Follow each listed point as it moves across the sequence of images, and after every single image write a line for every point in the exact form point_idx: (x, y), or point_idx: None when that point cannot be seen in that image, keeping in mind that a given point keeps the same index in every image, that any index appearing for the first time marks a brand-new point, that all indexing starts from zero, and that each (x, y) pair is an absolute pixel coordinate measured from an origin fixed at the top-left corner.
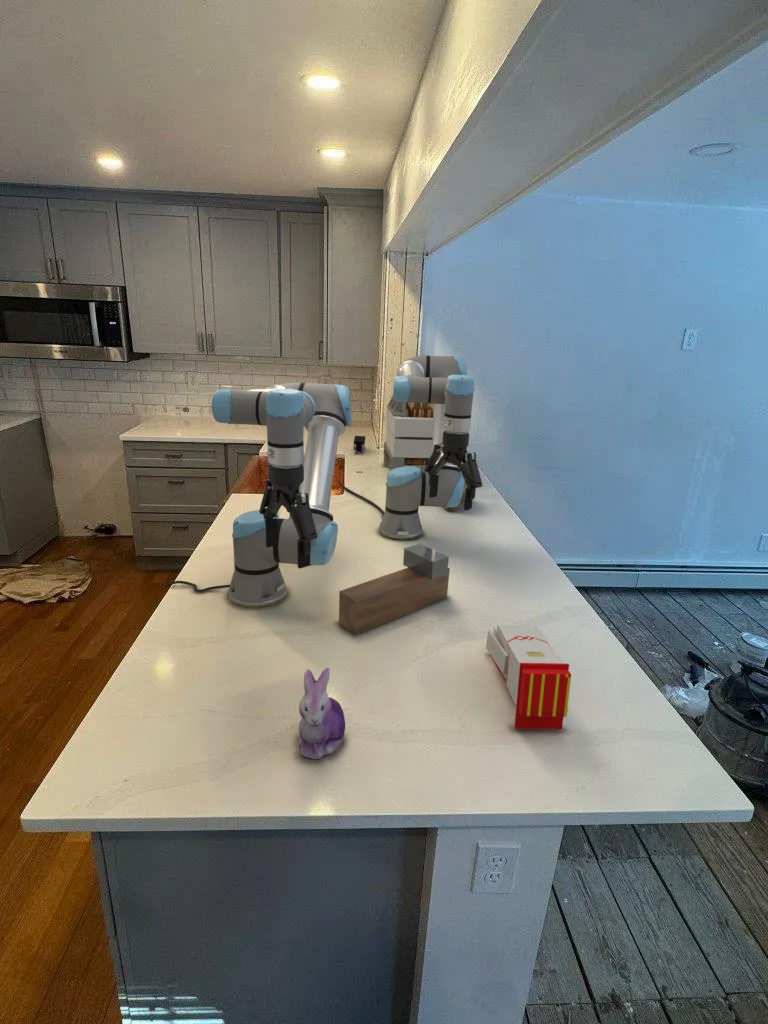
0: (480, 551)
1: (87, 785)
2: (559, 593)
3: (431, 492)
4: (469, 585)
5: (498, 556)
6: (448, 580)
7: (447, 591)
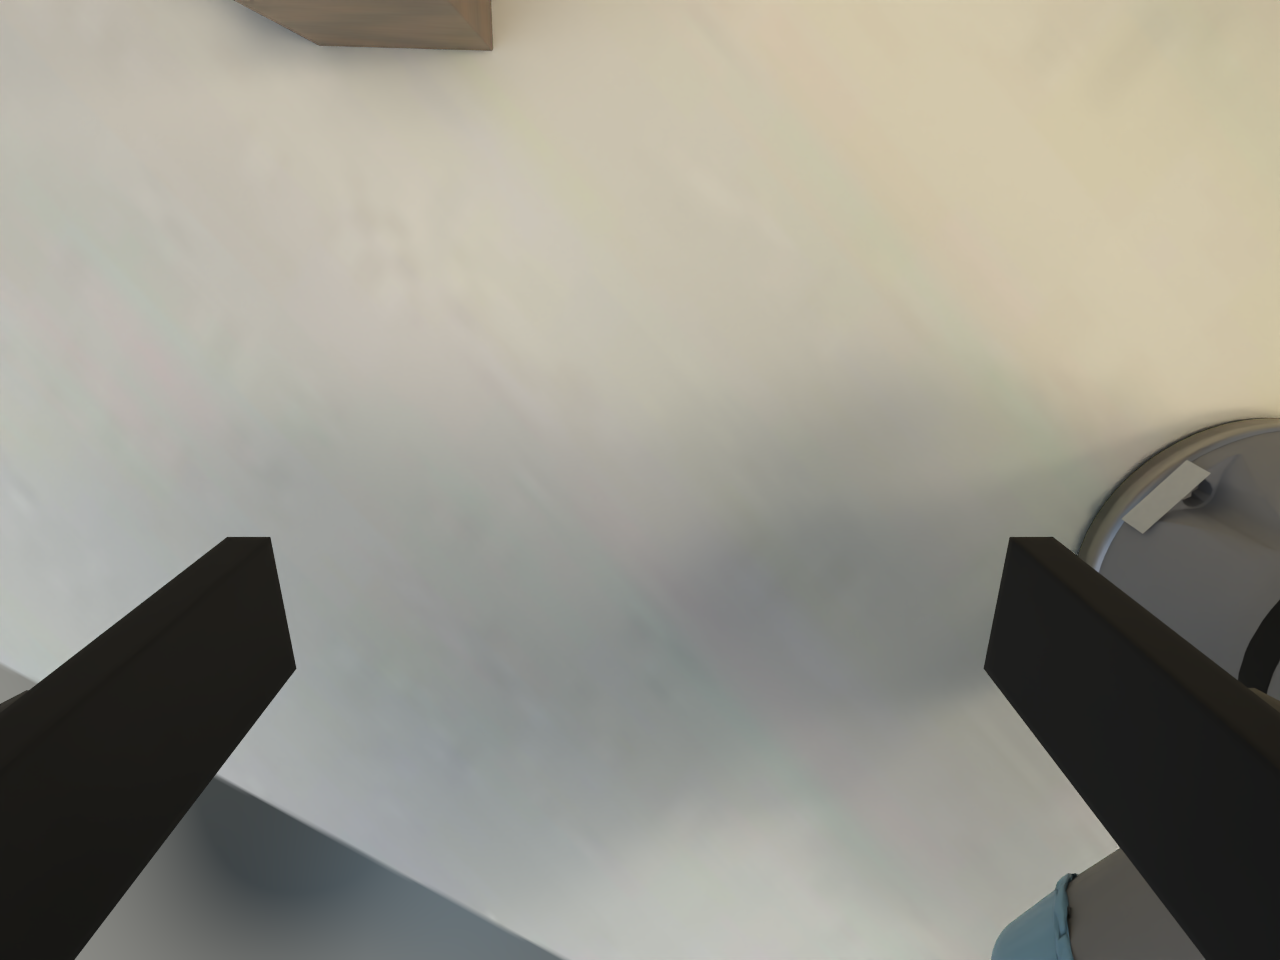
0: (674, 719)
1: None
2: (64, 642)
3: (1062, 585)
4: (380, 321)
5: (566, 742)
6: (251, 9)
7: (296, 32)
